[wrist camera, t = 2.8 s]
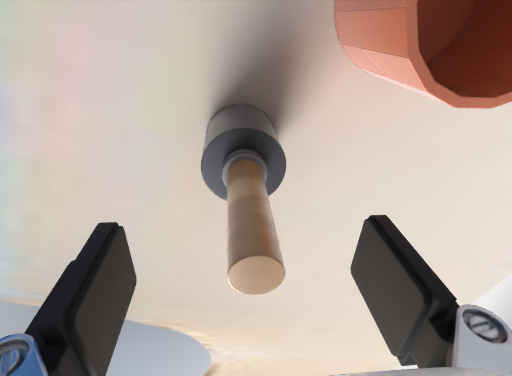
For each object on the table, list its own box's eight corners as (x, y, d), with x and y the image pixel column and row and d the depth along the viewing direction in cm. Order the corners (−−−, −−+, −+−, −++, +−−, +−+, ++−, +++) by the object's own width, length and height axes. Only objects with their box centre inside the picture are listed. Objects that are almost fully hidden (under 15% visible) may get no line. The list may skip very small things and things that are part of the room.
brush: (276, 104, 20) (342, 216, 8) (271, 167, 22) (316, 317, 11) (204, 103, 19) (173, 219, 8) (207, 168, 22) (188, 324, 11)
